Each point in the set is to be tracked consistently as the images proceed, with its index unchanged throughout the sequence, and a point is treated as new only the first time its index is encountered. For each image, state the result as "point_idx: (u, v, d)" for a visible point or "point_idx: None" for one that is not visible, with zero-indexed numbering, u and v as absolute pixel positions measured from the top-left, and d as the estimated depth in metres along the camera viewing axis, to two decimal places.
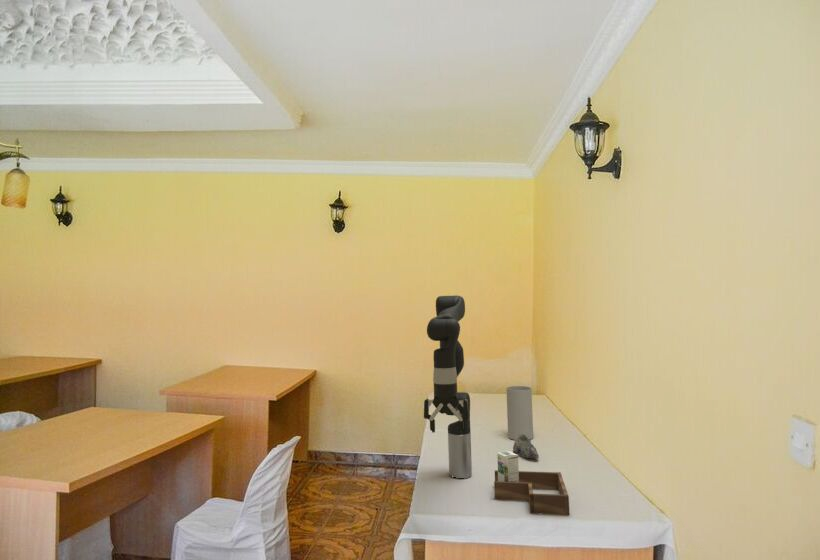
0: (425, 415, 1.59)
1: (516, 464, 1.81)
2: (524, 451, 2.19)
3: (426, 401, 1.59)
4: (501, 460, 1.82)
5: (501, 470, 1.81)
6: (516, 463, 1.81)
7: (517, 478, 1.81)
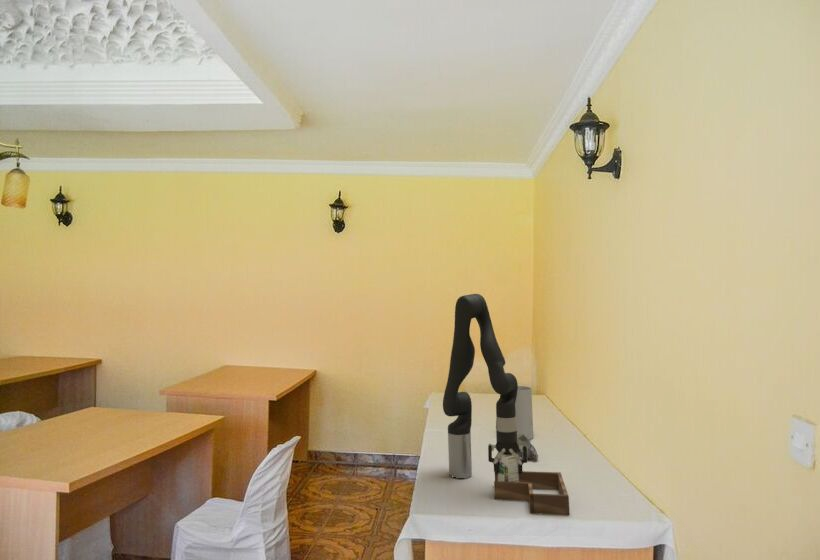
0: (489, 459, 1.82)
1: (516, 464, 1.81)
2: None
3: (490, 446, 1.83)
4: (501, 460, 1.82)
5: (501, 470, 1.81)
6: (516, 463, 1.81)
7: (517, 478, 1.81)
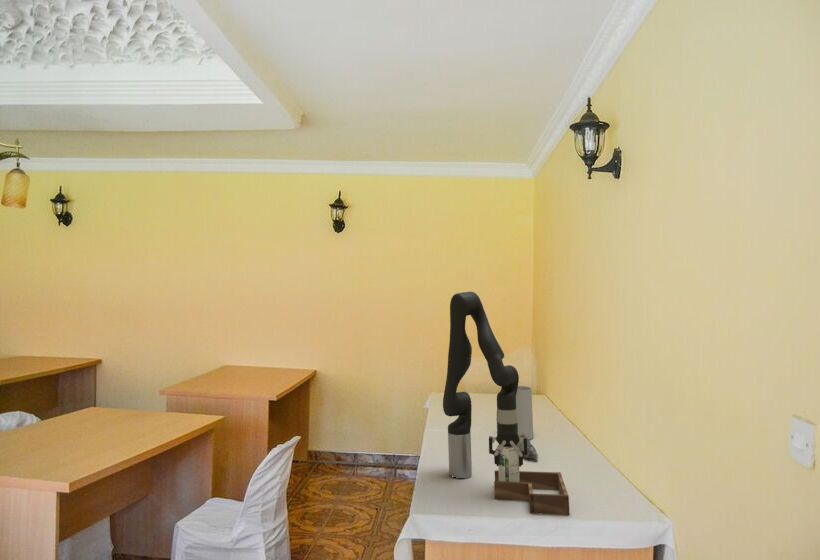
0: (490, 451, 1.83)
1: (517, 456, 1.81)
2: None
3: (490, 438, 1.83)
4: (501, 452, 1.82)
5: (502, 462, 1.81)
6: (516, 455, 1.81)
7: (518, 470, 1.81)
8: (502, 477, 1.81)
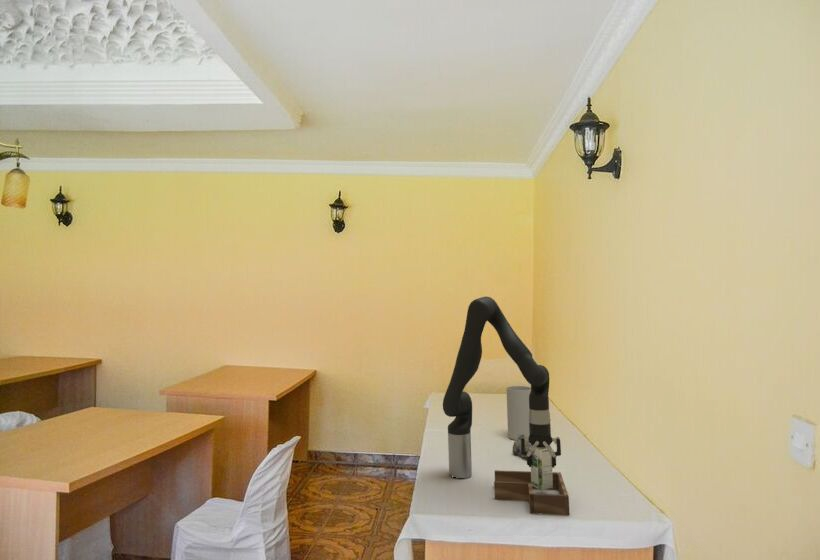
0: (522, 451, 1.80)
1: (550, 457, 1.79)
2: None
3: (523, 439, 1.81)
4: (534, 453, 1.80)
5: (535, 463, 1.79)
6: (549, 456, 1.79)
7: (551, 471, 1.79)
8: (535, 479, 1.79)
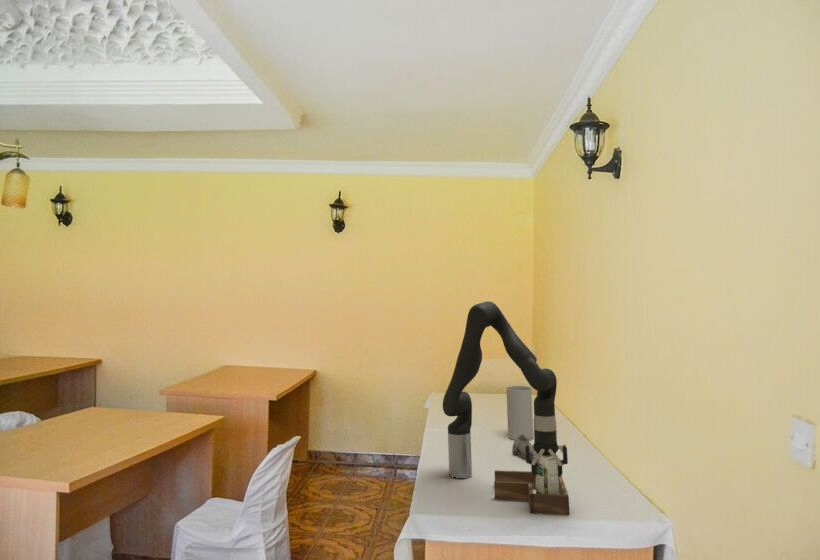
0: (527, 460, 1.71)
1: (556, 465, 1.70)
2: (523, 452, 2.19)
3: (527, 447, 1.71)
4: (539, 462, 1.71)
5: (540, 472, 1.70)
6: (555, 465, 1.70)
7: (557, 480, 1.70)
8: (540, 488, 1.70)
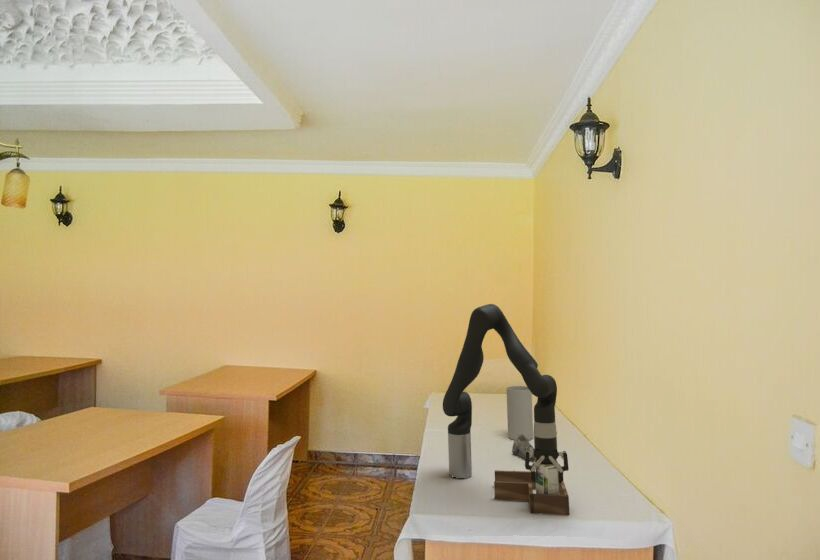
0: (527, 466, 1.71)
1: (556, 475, 1.69)
2: (523, 452, 2.19)
3: (527, 453, 1.71)
4: (539, 471, 1.70)
5: (540, 481, 1.69)
6: (556, 474, 1.69)
7: (557, 489, 1.69)
8: None
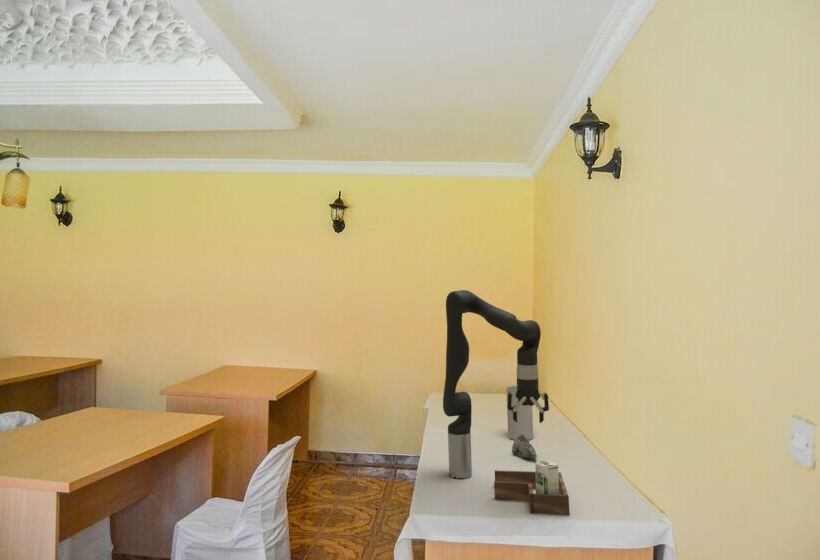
0: (509, 407, 1.78)
1: (556, 475, 1.69)
2: (522, 452, 2.19)
3: (510, 394, 1.77)
4: (539, 471, 1.70)
5: (540, 481, 1.69)
6: (556, 474, 1.69)
7: (557, 489, 1.69)
8: None
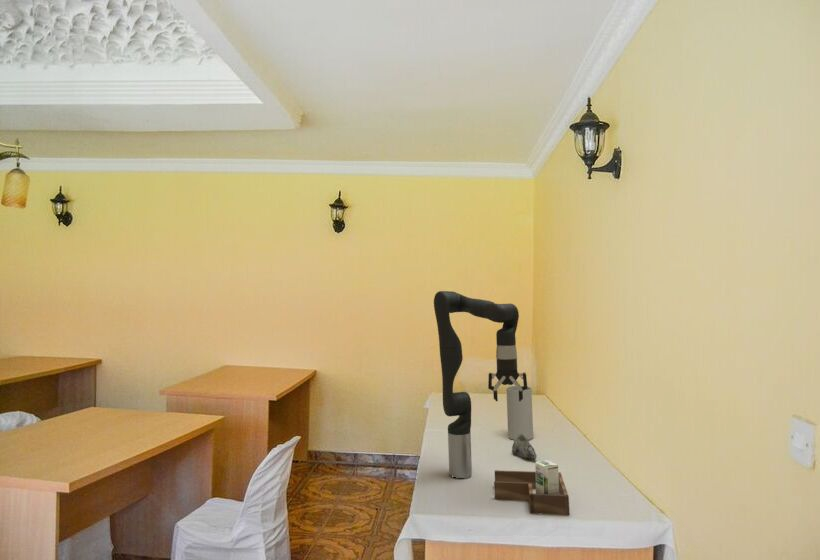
0: (489, 386, 1.85)
1: (556, 475, 1.69)
2: (522, 452, 2.19)
3: (490, 374, 1.85)
4: (539, 471, 1.70)
5: (540, 481, 1.69)
6: (556, 474, 1.69)
7: (557, 489, 1.69)
8: None
